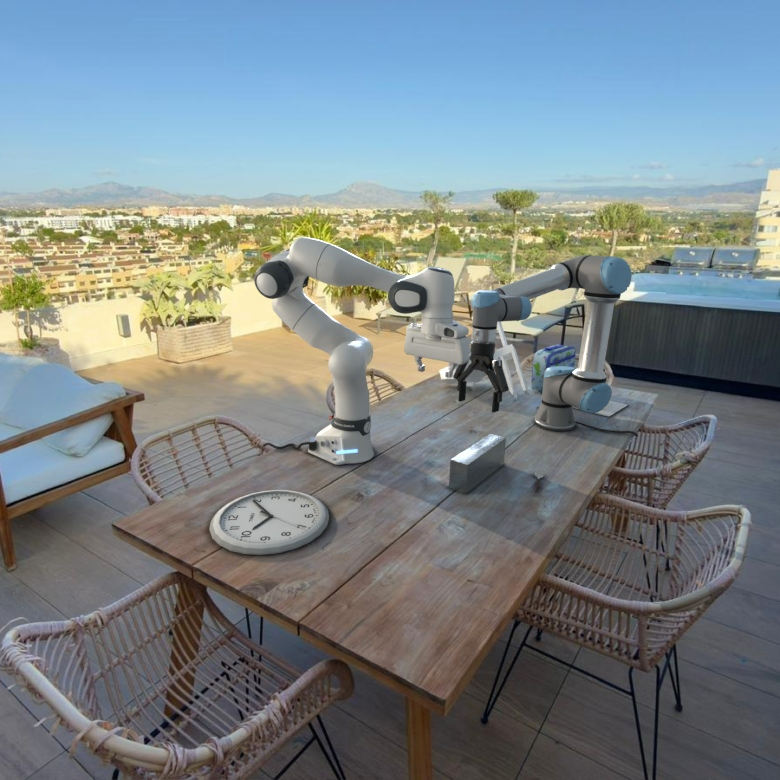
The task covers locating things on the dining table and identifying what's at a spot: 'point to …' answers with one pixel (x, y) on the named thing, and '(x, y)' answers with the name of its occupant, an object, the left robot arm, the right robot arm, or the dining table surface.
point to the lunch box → (550, 362)
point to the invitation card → (611, 408)
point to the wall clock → (269, 522)
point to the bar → (476, 463)
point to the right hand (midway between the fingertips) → (478, 406)
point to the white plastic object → (500, 354)
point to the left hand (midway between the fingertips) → (434, 374)
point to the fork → (538, 475)
